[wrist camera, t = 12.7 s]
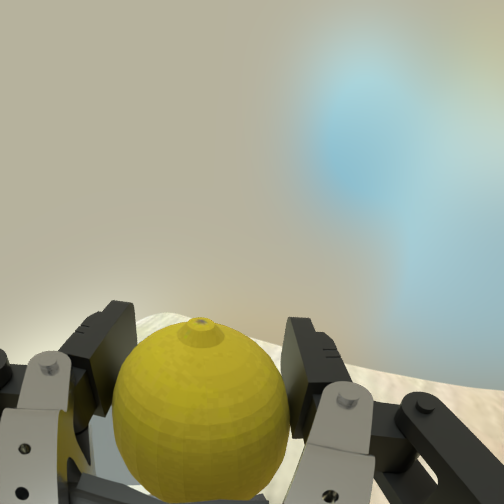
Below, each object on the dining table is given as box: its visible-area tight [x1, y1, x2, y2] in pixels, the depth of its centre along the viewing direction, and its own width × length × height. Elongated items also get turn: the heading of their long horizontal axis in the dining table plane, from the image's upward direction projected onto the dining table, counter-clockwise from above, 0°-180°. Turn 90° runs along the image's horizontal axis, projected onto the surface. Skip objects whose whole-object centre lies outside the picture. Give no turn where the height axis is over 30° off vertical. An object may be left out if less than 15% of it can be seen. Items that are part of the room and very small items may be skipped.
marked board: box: [90, 405, 162, 501], centre depth 21 cm, size 13×13×1 cm
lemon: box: [112, 317, 290, 503], centre depth 8 cm, size 6×6×8 cm
